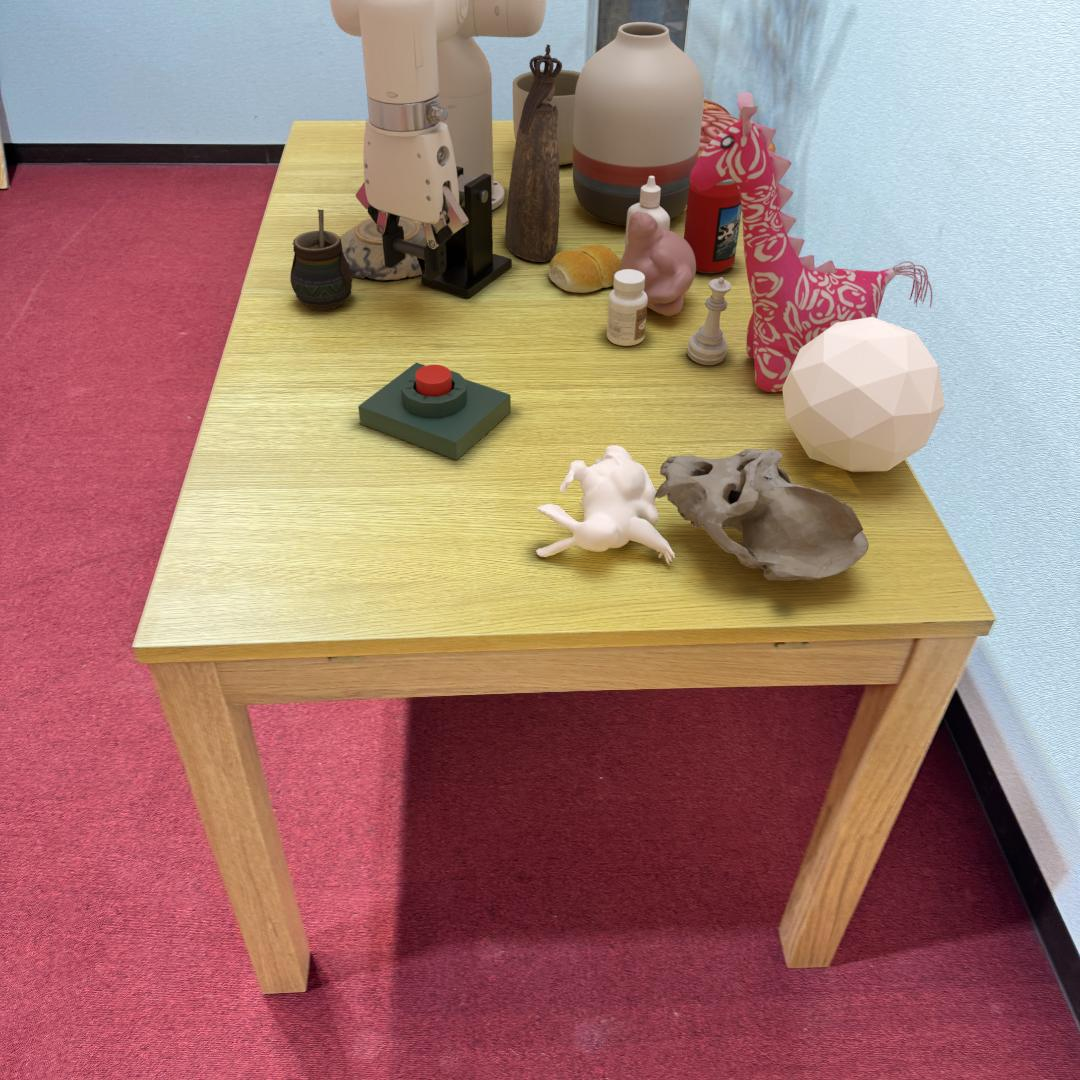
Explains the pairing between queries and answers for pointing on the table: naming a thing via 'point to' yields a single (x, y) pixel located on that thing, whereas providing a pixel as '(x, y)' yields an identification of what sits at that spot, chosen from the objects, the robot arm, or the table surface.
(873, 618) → the table surface
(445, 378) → the button
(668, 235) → the figurine
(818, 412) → the geometric shape
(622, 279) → the pill bottle
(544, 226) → the statue
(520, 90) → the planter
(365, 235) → the decorative bowl
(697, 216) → the beverage can
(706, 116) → the anatomical model
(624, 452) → the rabbit figurine
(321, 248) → the mate gourd
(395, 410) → the block
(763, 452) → the skull
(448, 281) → the lever bracket
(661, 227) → the eye dropper bottle
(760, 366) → the toy
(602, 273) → the bread roll
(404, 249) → the lever
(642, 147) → the vase
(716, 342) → the chess piece
